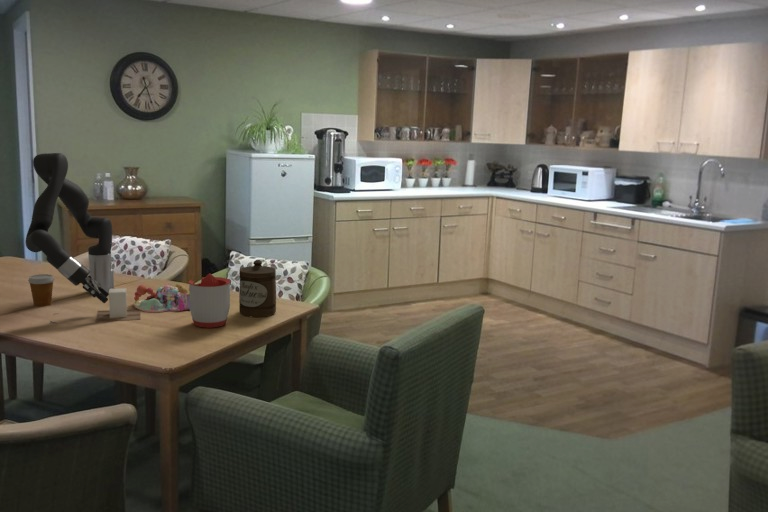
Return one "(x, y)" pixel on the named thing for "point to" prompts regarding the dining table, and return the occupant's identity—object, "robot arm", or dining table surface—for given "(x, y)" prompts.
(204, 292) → the citrus juicer
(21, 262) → the dining table surface
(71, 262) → the robot arm
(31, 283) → the disposable coffee cup
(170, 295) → the pastel sphere sculpture
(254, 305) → the wooden container
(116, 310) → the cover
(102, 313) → the board
